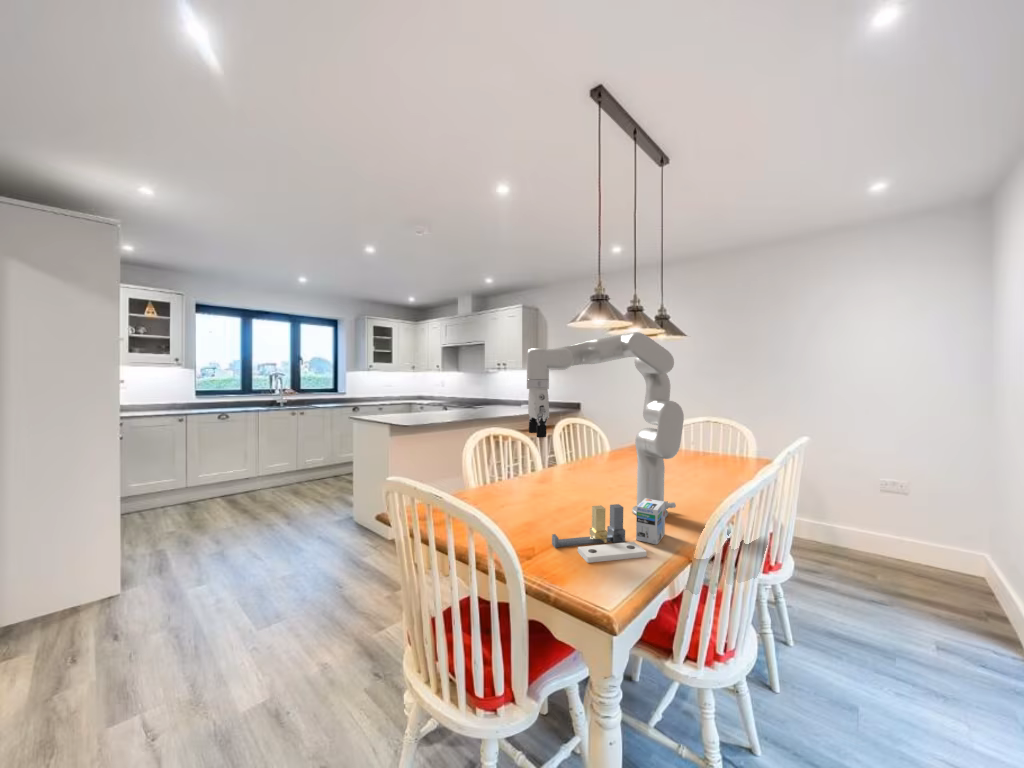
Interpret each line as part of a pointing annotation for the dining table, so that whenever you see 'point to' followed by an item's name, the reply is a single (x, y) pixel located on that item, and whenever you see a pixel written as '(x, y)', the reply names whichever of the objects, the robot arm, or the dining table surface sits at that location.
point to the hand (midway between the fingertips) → (537, 435)
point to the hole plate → (611, 552)
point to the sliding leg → (598, 523)
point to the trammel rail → (613, 535)
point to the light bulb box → (650, 521)
